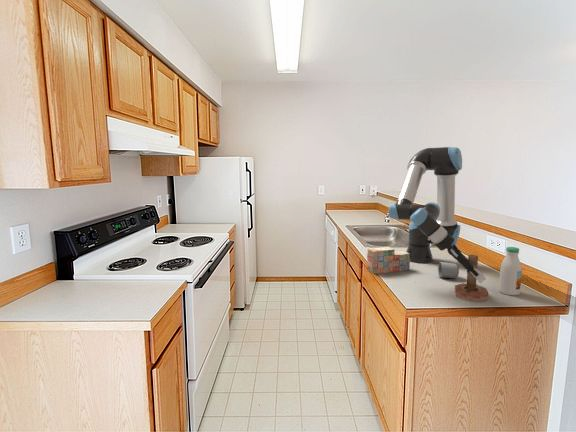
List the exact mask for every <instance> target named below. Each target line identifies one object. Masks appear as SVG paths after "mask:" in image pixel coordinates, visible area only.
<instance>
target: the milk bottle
mask: <svg viewBox="0 0 576 432" xmlns="http://www.w3.org/2000/svg"><path fill="white" fill-rule="evenodd" d="M505 248H506V249H505V251H506V252H505V253H506V255H505V257H504V259H503V260H502V262H501V264H500V269H499V270H500V271H499V283H498V291H499V293H501V294H503V295H506V296H515V297H516V296H519V295H520V293H521V284H522V273H523V268H522V263H521V260H520V258H519V254H520V248H519V247H516V246H507V247H505Z"/></svg>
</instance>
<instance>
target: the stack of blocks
mask: <svg viewBox="0 0 576 432" xmlns="http://www.w3.org/2000/svg"><path fill="white" fill-rule="evenodd" d="M366 262H367V267H366V268H367V272H369V273H371V274H372V275H375V274H385V273H387V272H388V273H396V272H397V273H398V272H406V271H410V269H411V261H410V254H409V253H407V252H406V250H405V251H404V250H401V251H400V250H399V251H395V249H394V248H392V247H391V246H381V247H371V248H367V261H366Z"/></svg>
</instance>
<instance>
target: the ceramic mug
mask: <svg viewBox="0 0 576 432" xmlns="http://www.w3.org/2000/svg"><path fill="white" fill-rule="evenodd" d="M437 269H438V271H437V272H438V273H437V274H438V276H439V278H441V279H457V278H458V277H459V274H460V269H459V265H458V264H456V263H453V262H446V261H445V262H443V261H440V262H439V263H438V267H437Z"/></svg>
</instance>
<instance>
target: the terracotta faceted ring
mask: <svg viewBox="0 0 576 432" xmlns="http://www.w3.org/2000/svg"><path fill="white" fill-rule="evenodd" d="M466 285H467V283H458V284H455V285H454V295H455V296H456V297H458V298H461V299H463V300H466V301H474V302H482V301H485V300H489V291H488V289H487V288H486V287H484V286H481V285H478V284H476V291H469V290H466Z"/></svg>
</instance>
